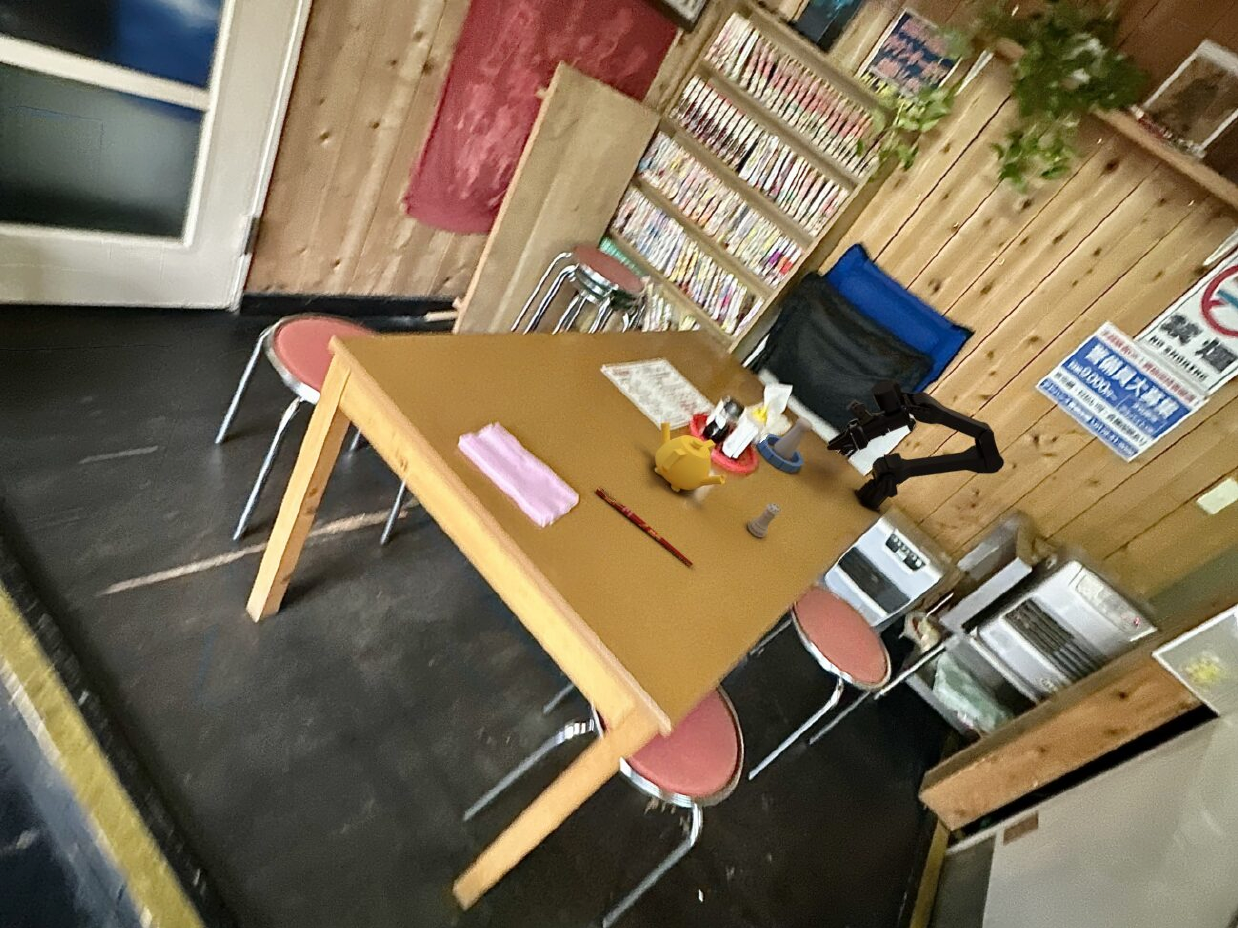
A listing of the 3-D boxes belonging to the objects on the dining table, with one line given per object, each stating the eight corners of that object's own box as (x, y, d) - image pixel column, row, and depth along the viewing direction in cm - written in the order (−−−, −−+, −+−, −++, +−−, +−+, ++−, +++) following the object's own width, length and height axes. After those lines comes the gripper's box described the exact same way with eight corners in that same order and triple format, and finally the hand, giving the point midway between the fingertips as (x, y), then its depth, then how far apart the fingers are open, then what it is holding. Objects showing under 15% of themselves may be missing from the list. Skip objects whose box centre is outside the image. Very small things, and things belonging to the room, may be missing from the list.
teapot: (724, 499, 171) (751, 464, 166) (682, 517, 158) (710, 480, 152) (666, 442, 179) (689, 406, 173) (621, 454, 165) (645, 416, 159)
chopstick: (689, 568, 145) (692, 564, 145) (595, 491, 149) (597, 488, 149) (693, 563, 147) (695, 560, 146) (599, 488, 151) (601, 485, 150)
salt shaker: (781, 465, 199) (810, 429, 192) (766, 451, 201) (794, 414, 195) (791, 462, 204) (819, 426, 197) (776, 448, 206) (804, 412, 199)
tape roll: (791, 450, 210) (796, 443, 208) (803, 478, 200) (808, 472, 198) (753, 434, 205) (758, 427, 204) (763, 463, 195) (769, 456, 194)
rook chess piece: (753, 538, 165) (774, 513, 161) (743, 523, 168) (763, 498, 163) (767, 538, 168) (787, 514, 164) (756, 523, 170) (776, 499, 166)
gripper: (871, 391, 202) (817, 415, 208) (873, 396, 185) (813, 422, 190) (888, 429, 203) (833, 451, 208) (891, 437, 185) (831, 462, 190)
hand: (827, 446), depth 199 cm, fingers open, 9 cm apart
